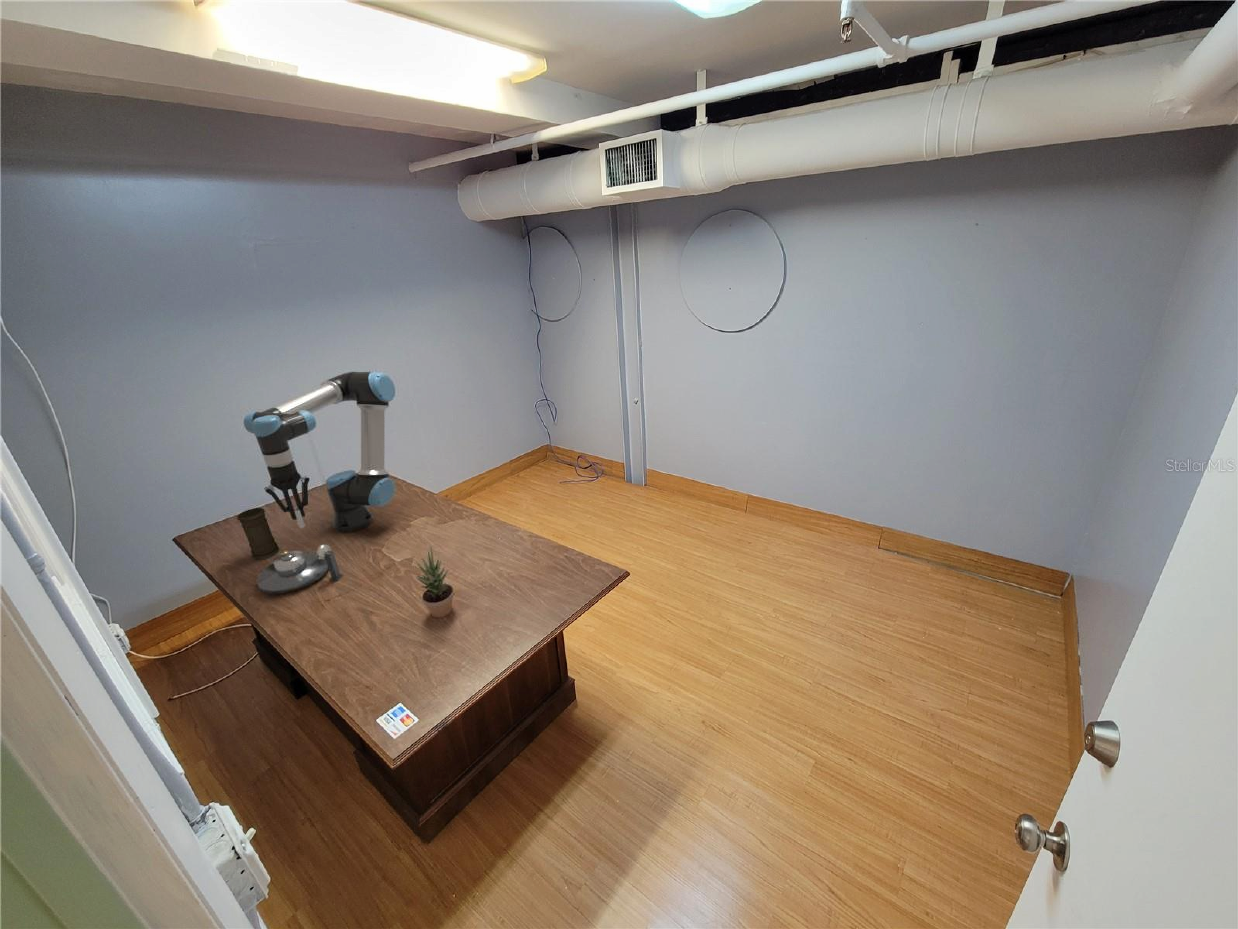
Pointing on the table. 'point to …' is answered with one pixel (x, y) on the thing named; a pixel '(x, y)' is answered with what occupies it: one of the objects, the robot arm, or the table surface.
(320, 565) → the turntable
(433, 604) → the potted plant
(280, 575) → the cover
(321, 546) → the dial stand
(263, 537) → the container
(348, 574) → the table surface
